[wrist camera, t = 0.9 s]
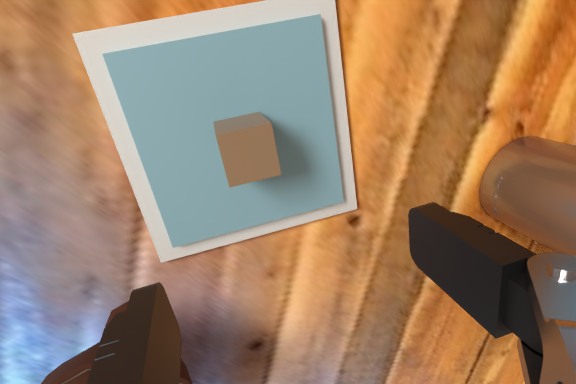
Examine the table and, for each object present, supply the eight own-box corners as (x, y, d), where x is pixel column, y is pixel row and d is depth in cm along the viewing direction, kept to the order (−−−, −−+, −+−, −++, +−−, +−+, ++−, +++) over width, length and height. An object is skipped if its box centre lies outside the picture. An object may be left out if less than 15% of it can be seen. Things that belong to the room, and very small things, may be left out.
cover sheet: (317, 15, 25) (347, 3, 20) (340, 198, 31) (368, 226, 26) (105, 54, 23) (76, 52, 18) (173, 243, 29) (167, 284, 24)
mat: (331, -10, 25) (333, -12, 25) (354, 206, 32) (357, 208, 32) (75, 34, 23) (72, 33, 22) (161, 259, 30) (161, 262, 29)
